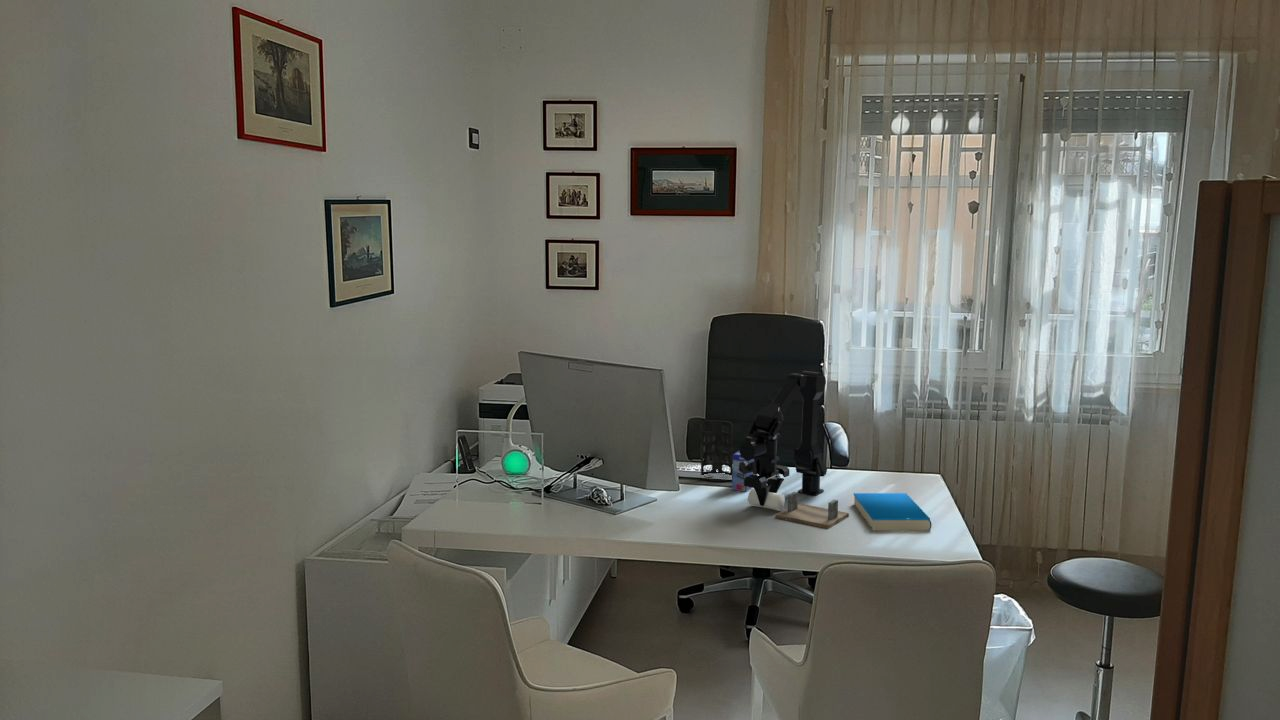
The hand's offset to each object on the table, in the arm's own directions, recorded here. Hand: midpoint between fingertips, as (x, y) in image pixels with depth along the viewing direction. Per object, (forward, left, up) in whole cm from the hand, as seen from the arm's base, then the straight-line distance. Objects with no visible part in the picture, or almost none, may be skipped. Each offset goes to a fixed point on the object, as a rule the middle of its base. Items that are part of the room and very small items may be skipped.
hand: (766, 503), depth 289 cm
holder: (-19, -30, -2) cm, 36 cm away
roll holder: (-1, +15, -2) cm, 15 cm away
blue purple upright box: (-16, -17, -2) cm, 23 cm away
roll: (0, 0, -1) cm, 1 cm away
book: (-15, +34, -2) cm, 37 cm away
